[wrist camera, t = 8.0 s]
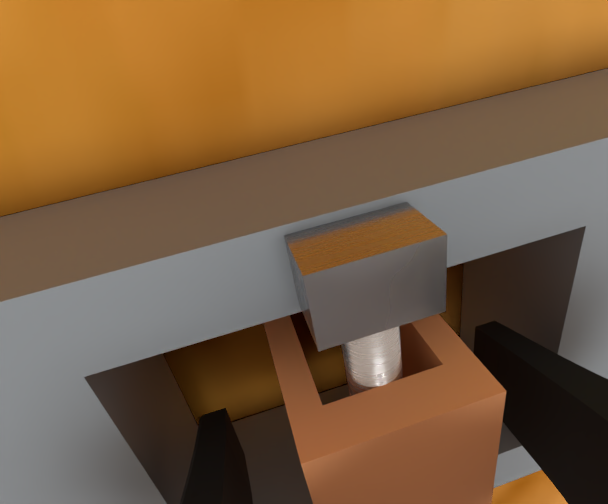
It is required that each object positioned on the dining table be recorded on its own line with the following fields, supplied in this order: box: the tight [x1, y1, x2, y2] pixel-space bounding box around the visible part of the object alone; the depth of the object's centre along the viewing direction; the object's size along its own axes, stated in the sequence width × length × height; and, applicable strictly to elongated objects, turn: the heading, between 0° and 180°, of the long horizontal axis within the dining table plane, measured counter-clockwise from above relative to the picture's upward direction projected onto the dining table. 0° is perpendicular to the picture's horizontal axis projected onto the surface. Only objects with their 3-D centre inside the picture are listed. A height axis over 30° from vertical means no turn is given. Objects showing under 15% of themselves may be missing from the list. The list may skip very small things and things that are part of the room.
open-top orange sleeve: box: [263, 314, 506, 504], centre depth 11 cm, size 5×4×6 cm
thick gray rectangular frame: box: [0, 68, 608, 504], centre depth 12 cm, size 12×22×6 cm, turn 99°
